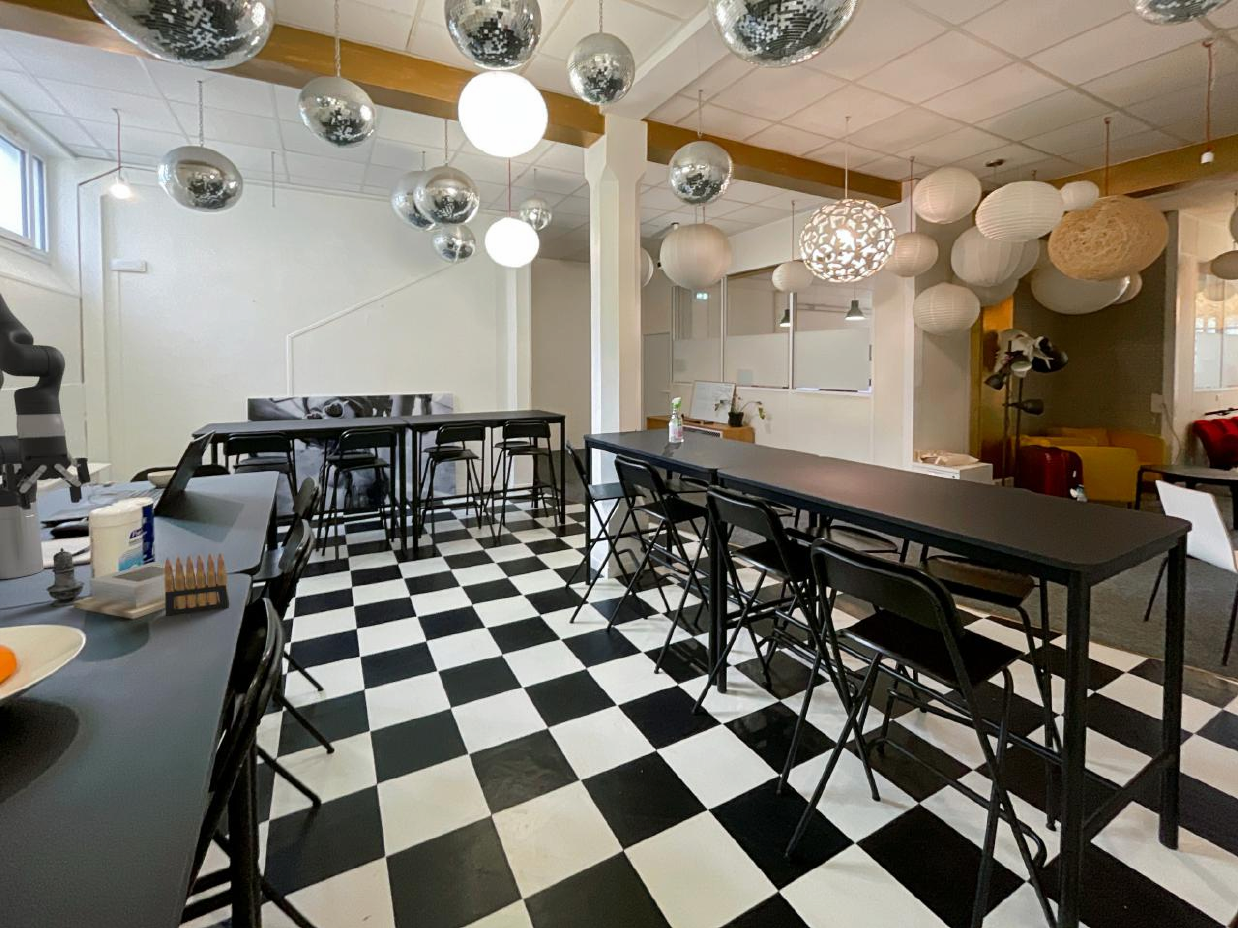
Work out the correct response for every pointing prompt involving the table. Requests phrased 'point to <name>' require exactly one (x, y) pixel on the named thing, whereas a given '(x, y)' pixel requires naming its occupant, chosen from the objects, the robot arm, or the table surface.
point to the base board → (119, 608)
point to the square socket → (133, 585)
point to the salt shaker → (64, 581)
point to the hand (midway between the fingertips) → (51, 505)
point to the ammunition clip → (195, 587)
